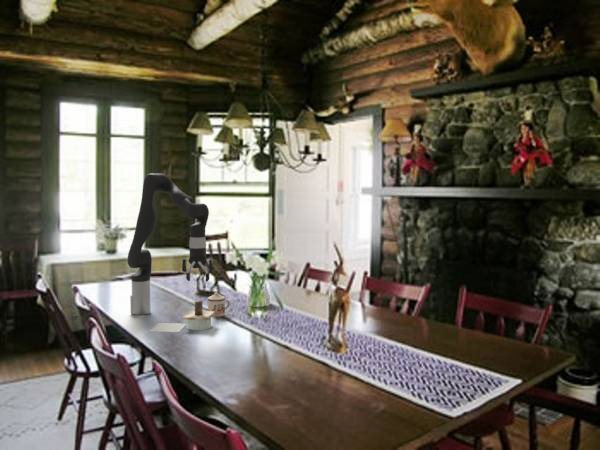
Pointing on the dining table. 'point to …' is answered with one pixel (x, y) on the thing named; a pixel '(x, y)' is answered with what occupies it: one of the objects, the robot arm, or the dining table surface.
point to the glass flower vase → (265, 295)
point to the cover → (198, 313)
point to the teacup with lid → (217, 305)
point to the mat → (168, 327)
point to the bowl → (198, 324)
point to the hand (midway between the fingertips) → (197, 281)
